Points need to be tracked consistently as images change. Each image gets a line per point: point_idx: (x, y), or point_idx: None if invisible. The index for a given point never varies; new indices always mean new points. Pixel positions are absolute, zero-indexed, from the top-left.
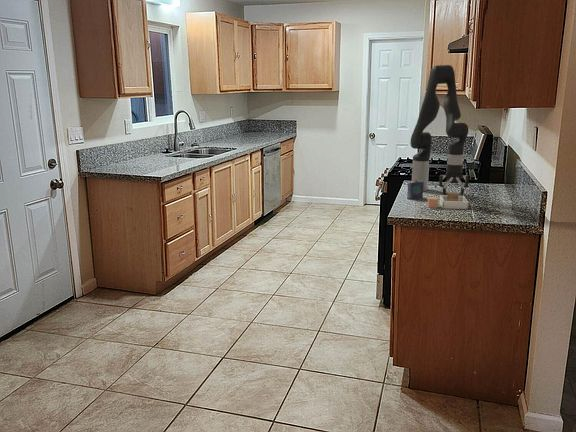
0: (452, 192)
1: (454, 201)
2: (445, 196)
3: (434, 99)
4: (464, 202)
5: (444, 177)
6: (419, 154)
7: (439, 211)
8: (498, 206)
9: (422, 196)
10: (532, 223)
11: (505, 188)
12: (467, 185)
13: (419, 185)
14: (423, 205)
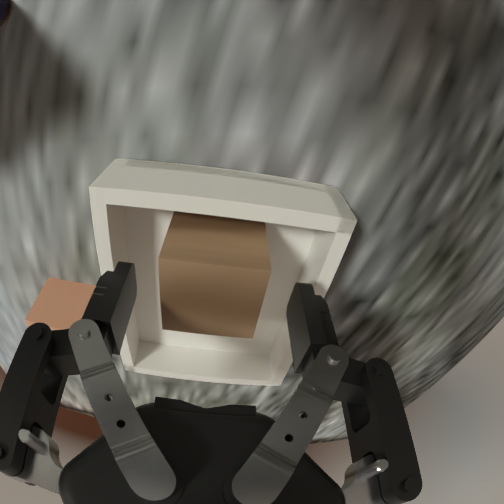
0: (215, 266)
1: (195, 377)
2: (150, 203)
3: None
4: (256, 382)
5: (60, 466)
6: None
7: (122, 369)
8: (460, 295)
9: (4, 9)
10: None
11: None
12: (359, 406)
13: None
14: (29, 269)
